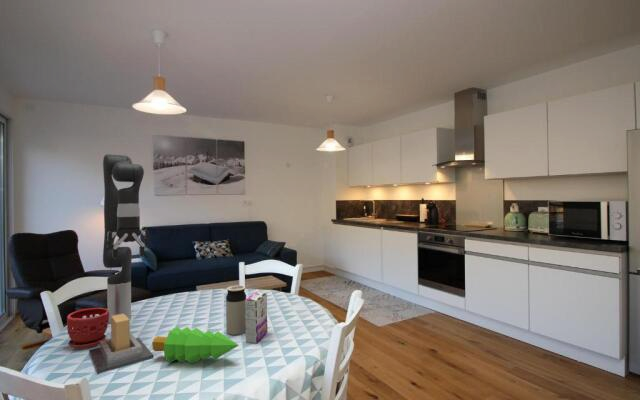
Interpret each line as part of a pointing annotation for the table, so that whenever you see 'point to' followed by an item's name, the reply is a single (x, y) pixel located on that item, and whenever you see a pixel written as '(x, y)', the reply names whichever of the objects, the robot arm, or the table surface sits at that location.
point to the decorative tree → (192, 345)
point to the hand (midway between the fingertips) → (128, 257)
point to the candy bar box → (256, 317)
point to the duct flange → (118, 355)
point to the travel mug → (235, 310)
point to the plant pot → (87, 327)
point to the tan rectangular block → (120, 332)
